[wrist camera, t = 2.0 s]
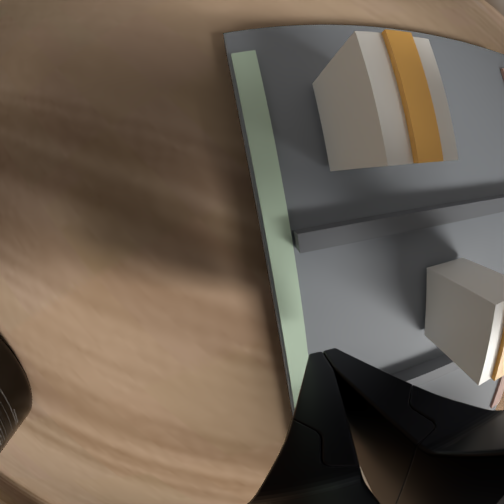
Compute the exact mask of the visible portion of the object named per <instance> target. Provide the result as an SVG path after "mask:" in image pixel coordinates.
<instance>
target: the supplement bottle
mask: <svg viewBox="0 0 504 504" xmlns="http://www.w3.org/2000/svg"><path fill="white" fill-rule="evenodd" d="M31 407H32V393H31V389H30V385H29V382H28V380H27V377H26V375H25V373H24V371H23V369H22V367H21V365H20V364H19V362H18V360H17V359H16V357H15V356H14V354H13V353H12V352H11V350H10V349H9V348H8V346H7V345H6V344H5V343H4V342H3V340H2V339H1V338H0V453H1V451H2V450H3V448H4V447H5V446H6V444H7V443H8V441H9V440H10V439H11V437H12V436H13V435H14V433H15V432H16V431H17V429H18V428H19V427H20V425H21V424H22V422H23V421H24V420H25V418H26V417H27V415H28V414H29V412H30V410H31Z"/></svg>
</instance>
